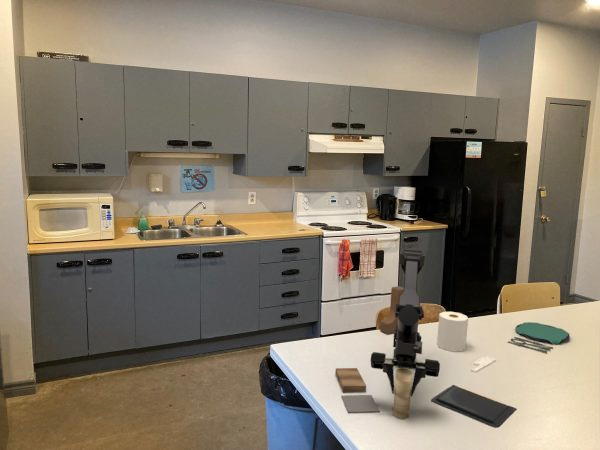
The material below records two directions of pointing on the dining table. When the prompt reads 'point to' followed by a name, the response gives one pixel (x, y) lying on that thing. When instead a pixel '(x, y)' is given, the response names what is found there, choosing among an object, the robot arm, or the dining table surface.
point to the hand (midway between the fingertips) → (402, 394)
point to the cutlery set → (539, 335)
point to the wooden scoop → (392, 312)
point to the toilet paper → (452, 331)
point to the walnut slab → (350, 380)
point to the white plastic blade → (482, 363)
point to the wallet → (474, 406)
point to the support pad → (360, 404)
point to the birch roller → (402, 393)
